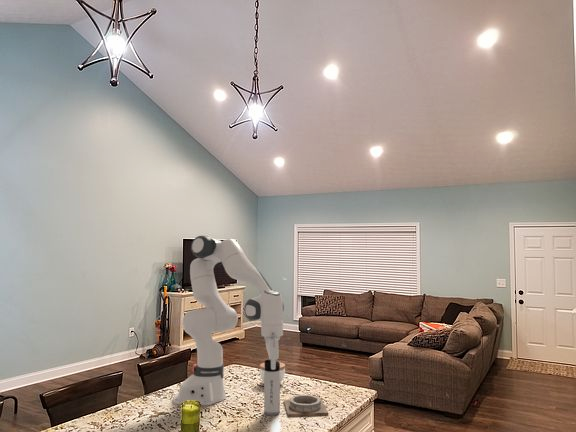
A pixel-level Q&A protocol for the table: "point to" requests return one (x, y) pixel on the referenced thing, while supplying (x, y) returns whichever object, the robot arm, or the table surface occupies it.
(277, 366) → the travel mug
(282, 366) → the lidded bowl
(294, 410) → the collar board
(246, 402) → the table surface
